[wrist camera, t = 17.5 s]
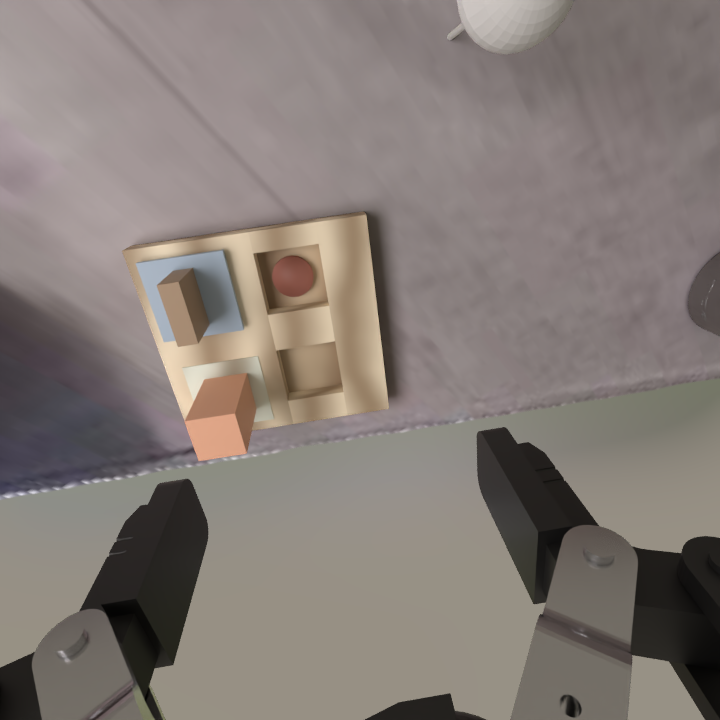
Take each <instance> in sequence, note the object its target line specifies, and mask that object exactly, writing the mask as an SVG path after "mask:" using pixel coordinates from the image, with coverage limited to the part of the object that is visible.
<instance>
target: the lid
mask: <svg viewBox="0 0 720 720" xmlns="http://www.w3.org/2000/svg"><path fill="white" fill-rule="evenodd" d="M136 266H137V269H138V272H139V274H140V277H141V280H142V283H143V286H144V288H145V291H146V294H147V297H148V299H149V302H150V305H151V308H152V311H153V313H154V316H155V319H156V322H157V324H158V327H159V330H160V333H161V336H162V338H163V341H164V342H170V341H176V343H177V346H178V347H182V346H188V345H194V344H199V342H200V340H201V339H202V337H203V336H209V335H215V334H222V333H228V332H235V331H241V330H244V324H243V320H242V317H241V313H240V309H239V305H238V302H237V298H236V294H235V290H234V287H233V283H232V279H231V275H230V272H229V268H228V264H227V260H226V257H225V253H224V249H222V250H216V251H209V252H202V253H195V254H189V255H182V256H175V257H169V258H162V259H155V260H148V261H142V262H137V263H136Z"/></svg>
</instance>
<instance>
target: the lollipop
mask: <svg viewBox="0 0 720 720" xmlns="http://www.w3.org/2000/svg"><path fill="white" fill-rule="evenodd" d="M573 2H574V0H457V4H458V11H459V15H460V18H461V21H462V23H461V24H460V25H459V26H457V27H456V28H455V29H454V30H453V31H451V32H450V33H449V34H448V36H447V38H448V40H452V39H453V38H455V37H456V36H457V35H459V34H460V33H461V32H463V31H464V30H466V32H467V33H468V35H469V36H470V37H471V38H472V40H473V41H474V42H475V43H477V44H478V45H479V46H481V47H482V48H483V49H485V50H487V51H490V52H492V53H496V54H503V55H504V54H514V53H519V52H522V51H525V50H528V49H530V48H532V47H534V46H536V45H537V44H539V43H541V42H542V41H543V40H545V39H546V38H547V37H548V36H549V35H551V34H552V33H553V32H554V31H555V30H556V29H557V28H558V26H559V25H560V24H561V23H562V22H563V20H564V19H565V17H566V16H567V14H568V12H569V11H570V9H571V7H572V4H573Z"/></svg>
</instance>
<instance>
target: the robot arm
mask: <svg viewBox="0 0 720 720" xmlns="http://www.w3.org/2000/svg"><path fill="white" fill-rule="evenodd" d="M688 309H689V313H690V316H691V318H692V320H693V321H694V322H695V323H696V324H697V325H698V326H700V327H701V328H703V329H705V330H707V331H709V332H712V333H714V334H716V335H718V336H720V253H719V254H718V255H716V256H715V257H714V258H712V259H711V260H710V261H709V262H708V263H707V264H706V265H705V266H704V267H703V269H702V270H701V271H700V273H699V274H698V275H697V277H696V279H695V281H694V283H693V285H692V287H691V290H690V293H689V299H688ZM477 467H478V468H477V471H478V481H479V486H480V490H481V493H482V496H483V498H484V500H485V502H486V504H487V506H488V509H489V511H490V513H491V515H492V517H493V519H494V521H495V523H496V526H497V527H498V530H499V532H500V534H501V536H502V538H503V540H504V542H505V545H506V546H507V549H508V551H509V553H510V555H511V557H512V559H513V561H514V564H515V566H516V568H517V570H518V572H519V574H520V576H521V578H522V581H523V582H524V585H525V587H526V589H527V591H528V593H529V595H530V598H531V600H532V602H533V604H539V603H544V602H546V604H545V608H544V612H543V614H542V615H541V614H540V615H539V618H538V621H537V623H536V627H535V630H534V635H533V638H532V642H531V645H530V649H529V653H528V656H527V660H526V664H525V667H524V671H523V675H522V678H521V682H520V686H519V689H518V693H517V697H516V701H515V704H514V708H513V712H512V716H511V719H510V720H627V717H628V706H629V694H630V683H631V671H632V655H635V656H641V657H647V658H653V659H659V660H665V661H669V662H670V664H671V665H672V667H673V668H674V670H675V672H676V673H677V675H678V677H679V678H680V680H681V681H682V683H683V684H684V686H685V688H686V689H687V691H688V693H689V694H690V696H691V698H692V699H693V701H694V702H695V704H696V706H697V707H698V709H699V710H700V712H701V714H702V715H703V717H704V718H705V720H720V538H716V537H708V536H704V537H696V538H693V539H690V540H689V541H687V542H686V543H685V545H684V546H683V549H682V553H673V552H663V551H654V550H646V549H640V548H636V547H632V546H631V545H630V544H629V543H628V542H627V541H626V540H625V539H624V538H623V537H622V536H620V535H618V534H617V533H615V532H613V531H611V530H609V529H607V528H604V527H600V526H599V525H598V524H597V523H596V521H595V520H594V519H593V517H592V516H591V515H590V513H589V512H588V510H587V509H586V508H585V506H584V505H583V504H582V502H581V501H580V500H579V498H578V497H577V496H576V494H575V493H574V492H573V490H572V489H571V488H570V486H569V485H568V484H567V482H566V481H564V479H563V477H562V476H561V474H560V473H559V471H558V470H556V469H555V466H554V465H553V463H552V462H551V461H550V459H549V458H548V457H547V455H546V454H545V453H544V452H543V451H541V450H539V449H538V448H537V447H535V446H533V445H532V444H530V443H529V442H527V443H521V444H517V443H516V441H515V440H514V438H513V437H512V435H511V434H510V432H509V431H508V429H506V428H505V427H502V428H496V429H491V430H484V431H479V432H478V433H477ZM207 541H208V524H207V519H206V517H205V514H204V512H203V509H202V507H201V504H200V502H199V499H198V497H197V494H196V492H195V489H194V487H193V484H192V482H191V481H190V480H189V479H183V480H176V481H170V482H164V483H160V484H158V485H157V487H156V489H155V491H154V493H153V495H152V497H151V499H150V502H149V503H148V505H142V506H140V507H139V508H138V509H137V510H136V511H135V512H134V513H133V514H132V515H131V516H130V517H129V518H128V519H127V520H126V521H125V523H124V525H123V527H122V529H121V531H120V533H119V535H118V537H117V542H115V543H114V545H113V547H112V549H111V550H110V552H109V557H107V559H106V560H105V562H104V564H103V566H102V568H101V570H100V572H99V574H98V576H97V578H96V580H95V582H94V584H93V586H92V588H91V590H90V592H89V593H88V595H87V598H86V599H85V602H84V603H83V605H82V608H81V609H80V611H79V612H77V613H75V614H73V615H71V616H69V617H67V618H65V619H64V620H63V621H61V622H60V623H58V624H57V625H56V626H55V627H54V628H52V629H51V631H49V632H48V633H47V635H46V636H45V637H44V638H43V639H42V641H41V642H40V644H39V645H38V647H37V649H36V651H35V652H34V653H32V654H30V655H27V656H25V657H23V658H21V659H18V660H16V661H14V662H12V663H10V664H7V665H5V666H3V667H1V668H0V720H165V717H164V715H163V713H162V710H161V708H160V706H159V704H158V701H157V699H156V696H155V694H154V692H153V690H152V688H151V686H150V685H149V684H150V680H151V678H152V674H153V671H154V668H159V667H165V666H170V665H173V664H174V660H175V656H176V653H177V649H178V646H179V642H180V639H181V635H182V632H183V627H184V624H185V621H186V617H187V614H188V610H189V606H190V603H191V599H192V595H193V592H194V588H195V584H196V581H197V577H198V574H199V570H200V567H201V563H202V560H203V556H204V552H205V549H206V545H207ZM365 720H486V719H483V718H481V717H479V716H476V715H472V714H469V713H465V712H458V711H455V710H454V706H453V702H452V698H451V694H444V695H439V696H433V697H427V698H421V699H416V700H410V701H405V702H399V703H397V704H395V705H393V706H391V707H389V708H387V709H385V710H383V711H381V712H379V713H377V714H375V715H373V716H371V717H369V718H367V719H365Z"/></svg>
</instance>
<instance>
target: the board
mask: <svg viewBox="0 0 720 720" xmlns="http://www.w3.org/2000/svg"><path fill="white" fill-rule="evenodd" d="M222 249H224V253H225V257H226V260H227V264H228V268H229V272H230V275H231V279H232V283H233V287H234V290H235V294H236V298H237V302H238V305H239V309H240V313H241V317H242V320H243V324H244V330H241V331H235V332H228V333H222V334H215V335H209V336H203V337H202V339H201V340H200V342H199V344H194V345H188V346H182V347H178V346H177V343H176V341H170V342H164V341H163V338H162V336H161V333H160V330H159V327H158V324H157V322H156V319H155V316H154V313H153V311H152V308H151V305H150V302H149V299H148V297H147V294H146V291H145V288H144V286H143V283H142V280H141V277H140V274H139V272H138V269H137V266H136V263H137V262H142V261H148V260H155V259H162V258H169V257H175V256H182V255H189V254H195V253H202V252H209V251H216V250H222ZM122 252H123V255H124V258H125V260H126V263H127V266H128V269H129V271H130V274H131V277H132V279H133V282H134V285H135V288H136V290H137V293H138V296H139V298H140V301H141V304H142V306H143V309H144V312H145V315H146V317H147V320H148V323H149V325H150V328H151V331H152V334H153V336H154V339H155V342H156V344H157V347H158V350H159V353H160V355H161V358H162V361H163V363H164V366H165V369H166V371H167V374H168V377H169V380H170V382H171V385H172V388H173V390H174V393H175V396H176V399H177V401H178V404H179V407H180V409H181V412H182V415H183V418H184V420H185V419H186V417H187V415H188V413H189V411H190V409H191V406H192V404H193V402H194V400H195V398H196V396H197V394H198V392H199V389H200V387H201V385H202V383H203V381H204V379H210V378H216V377H223V376H229V375H236V374H242V373H247V375H248V379H249V382H250V386H251V390H252V393H253V397H254V401H255V404H256V408H257V409H256V414H255V418H254V423H253V427H252V431H253V430H259V429H265V428H272V427H278V426H284V425H290V424H297V423H303V422H309V421H315V420H322V419H328V418H334V417H340V416H347V415H353V414H359V413H365V412H371V411H378V410H384V409H389V404H388V396H387V387H386V378H385V370H384V361H383V353H382V344H381V336H380V327H379V319H378V310H377V302H376V293H375V285H374V276H373V267H372V259H371V250H370V242H369V233H368V225H367V216H366V214H365V212H364V211H363V212H357V213H350V214H343V215H336V216H330V217H323V218H316V219H309V220H303V221H296V222H289V223H282V224H276V225H269V226H262V227H255V228H249V229H242V230H235V231H228V232H222V233H215V234H208V235H201V236H195V237H188V238H181V239H174V240H168V241H161V242H154V243H147V244H141V245H134V246H130V247H128V248H126V249H125V250H123V251H122Z"/></svg>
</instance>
